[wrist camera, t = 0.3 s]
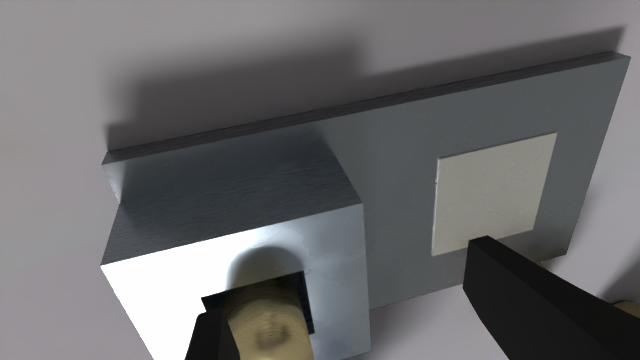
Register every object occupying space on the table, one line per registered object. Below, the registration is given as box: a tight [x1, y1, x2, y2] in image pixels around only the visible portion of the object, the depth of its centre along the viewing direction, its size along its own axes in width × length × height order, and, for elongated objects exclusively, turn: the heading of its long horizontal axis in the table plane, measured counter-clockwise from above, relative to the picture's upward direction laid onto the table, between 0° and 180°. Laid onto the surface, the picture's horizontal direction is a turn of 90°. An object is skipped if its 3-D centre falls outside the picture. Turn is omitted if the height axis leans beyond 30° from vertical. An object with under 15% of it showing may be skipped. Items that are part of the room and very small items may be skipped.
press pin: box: [221, 276, 314, 360], centre depth 17 cm, size 4×4×3 cm
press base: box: [100, 51, 631, 360], centre depth 21 cm, size 14×26×5 cm, turn 96°
